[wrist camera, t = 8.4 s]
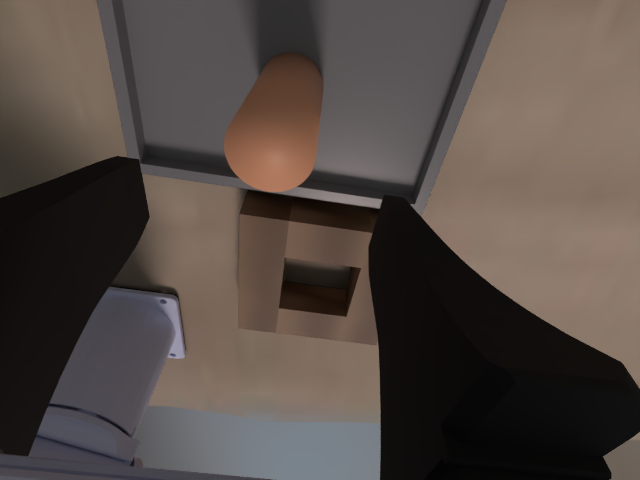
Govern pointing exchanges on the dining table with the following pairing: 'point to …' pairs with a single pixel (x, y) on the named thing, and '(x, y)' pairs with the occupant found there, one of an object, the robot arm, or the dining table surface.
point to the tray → (337, 73)
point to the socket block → (311, 245)
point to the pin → (277, 125)
